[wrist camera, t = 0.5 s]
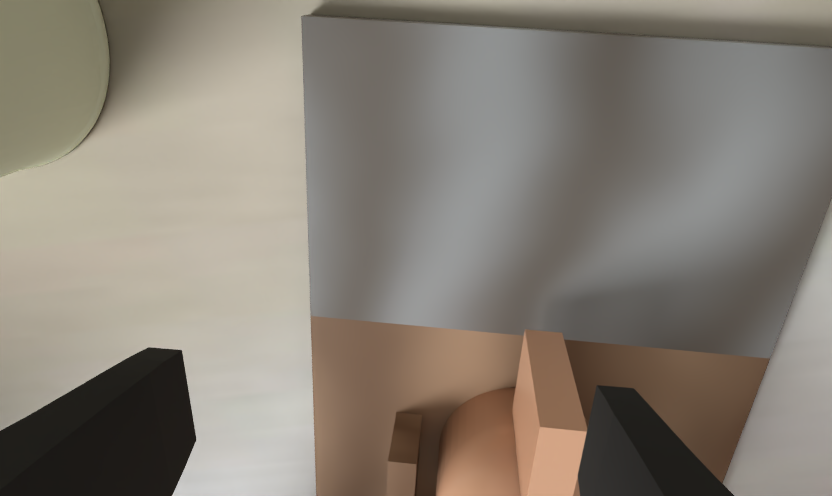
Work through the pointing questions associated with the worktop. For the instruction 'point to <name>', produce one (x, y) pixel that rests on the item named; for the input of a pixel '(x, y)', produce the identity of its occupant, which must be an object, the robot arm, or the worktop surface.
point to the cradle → (548, 225)
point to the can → (49, 78)
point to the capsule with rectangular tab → (518, 431)
